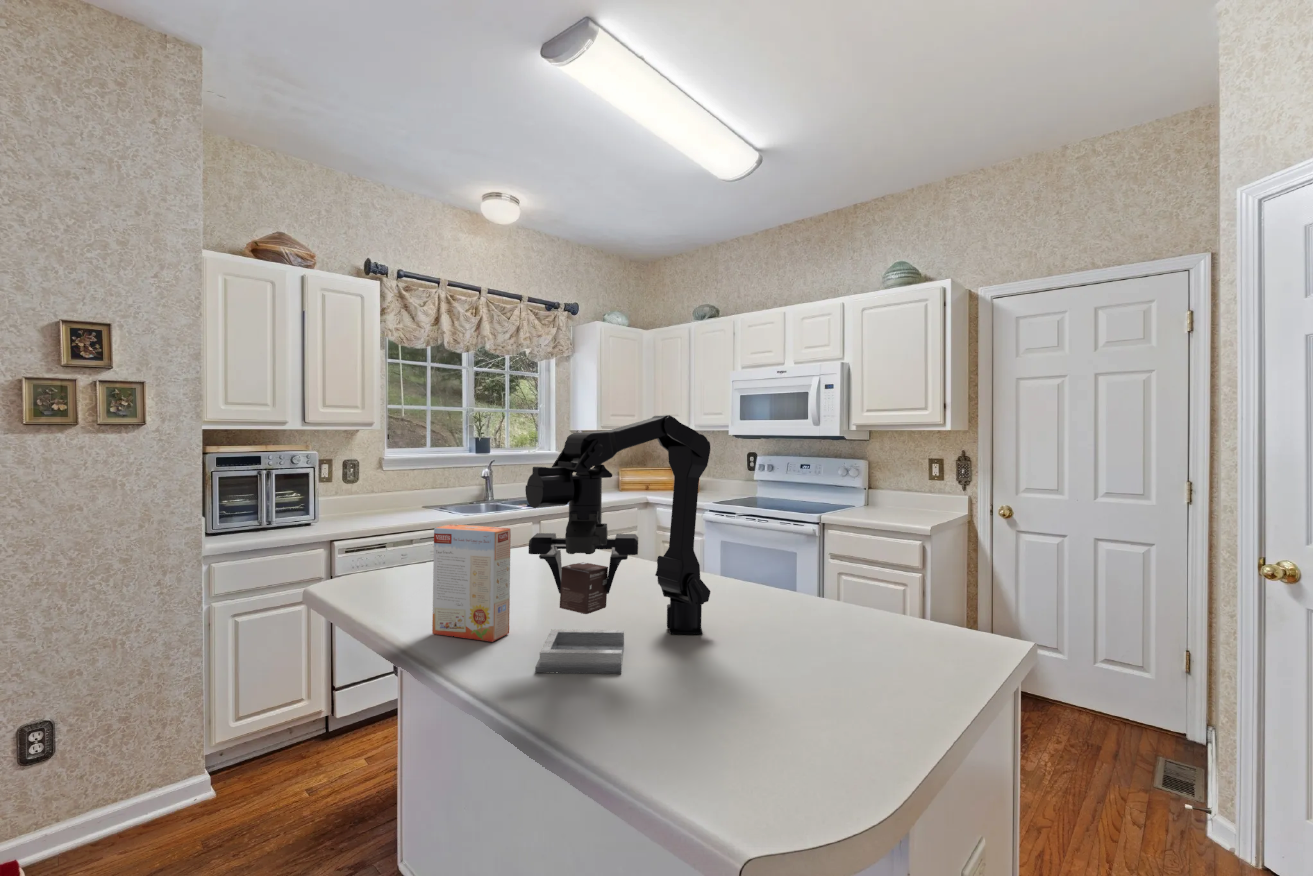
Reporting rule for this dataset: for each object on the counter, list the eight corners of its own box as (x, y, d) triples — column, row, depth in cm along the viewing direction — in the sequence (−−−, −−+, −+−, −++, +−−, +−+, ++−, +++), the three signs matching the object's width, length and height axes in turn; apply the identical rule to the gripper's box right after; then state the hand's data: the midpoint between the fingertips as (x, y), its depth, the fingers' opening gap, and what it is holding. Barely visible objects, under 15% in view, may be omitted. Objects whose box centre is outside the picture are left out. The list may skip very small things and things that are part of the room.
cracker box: (510, 633, 117) (512, 527, 117) (492, 643, 111) (494, 531, 112) (451, 625, 122) (452, 522, 122) (430, 634, 116) (432, 526, 116)
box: (585, 615, 101) (588, 572, 101) (558, 608, 104) (560, 566, 104) (607, 607, 106) (609, 566, 106) (580, 601, 109) (582, 561, 109)
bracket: (624, 644, 112) (624, 628, 112) (620, 673, 98) (621, 655, 98) (549, 643, 112) (549, 627, 112) (535, 673, 98) (535, 654, 98)
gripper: (522, 509, 97) (521, 605, 97) (637, 510, 97) (636, 606, 97) (535, 501, 108) (534, 588, 108) (638, 502, 108) (637, 589, 108)
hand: (584, 593), depth 105 cm, fingers closed on box, 8 cm apart
